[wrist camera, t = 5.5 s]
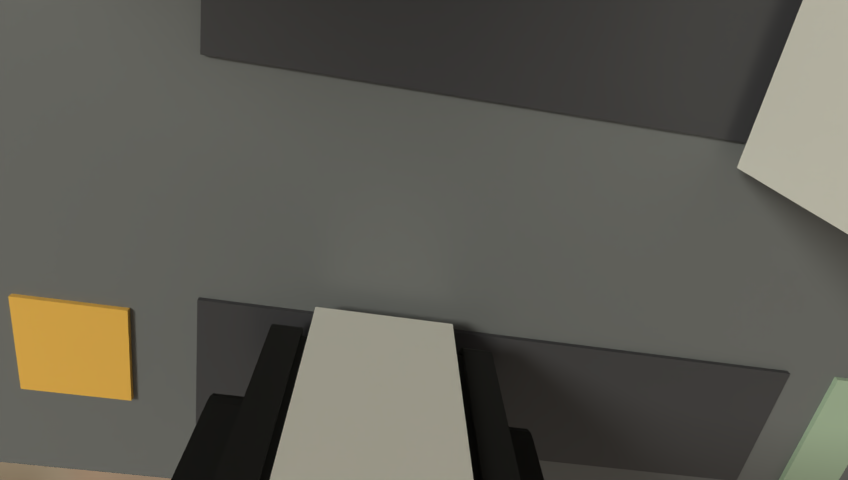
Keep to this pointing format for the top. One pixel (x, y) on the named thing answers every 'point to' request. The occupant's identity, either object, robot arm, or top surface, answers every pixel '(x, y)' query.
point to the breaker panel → (415, 222)
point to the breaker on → (807, 116)
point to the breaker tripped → (375, 402)
